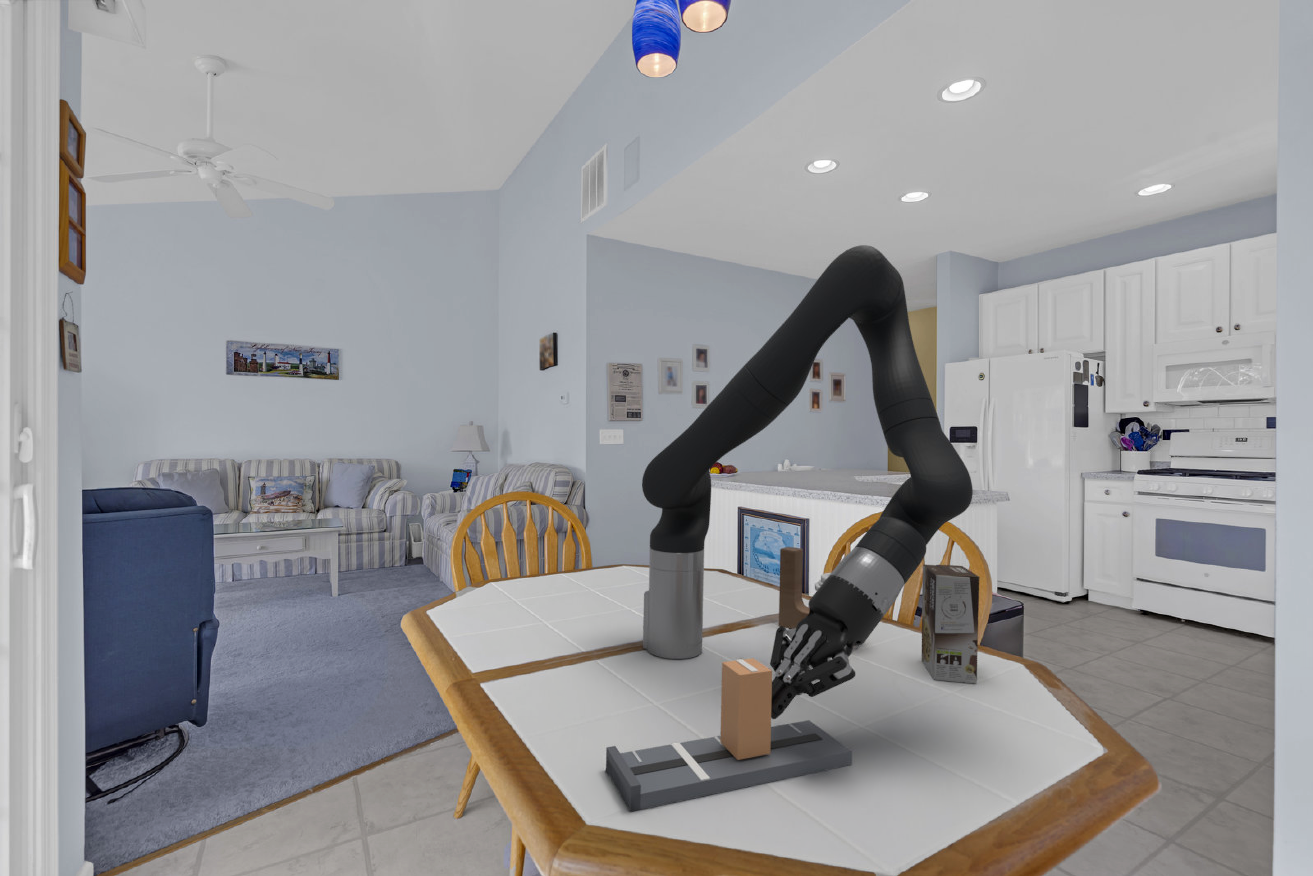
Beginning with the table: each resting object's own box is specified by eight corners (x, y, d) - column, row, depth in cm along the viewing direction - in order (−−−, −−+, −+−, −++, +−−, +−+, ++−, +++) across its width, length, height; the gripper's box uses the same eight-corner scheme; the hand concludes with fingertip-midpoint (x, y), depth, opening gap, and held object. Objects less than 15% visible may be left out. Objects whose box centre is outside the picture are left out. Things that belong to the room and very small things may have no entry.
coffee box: (978, 684, 93) (981, 576, 93) (932, 680, 94) (935, 574, 94) (961, 663, 102) (963, 564, 102) (919, 659, 103) (921, 562, 103)
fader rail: (630, 811, 60) (630, 786, 60) (605, 769, 67) (606, 747, 67) (851, 764, 69) (852, 743, 69) (808, 732, 77) (809, 712, 77)
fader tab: (737, 760, 66) (739, 673, 66) (720, 742, 70) (722, 660, 70) (770, 753, 68) (772, 669, 68) (751, 737, 71) (753, 656, 71)
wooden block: (778, 626, 120) (779, 548, 120) (786, 622, 123) (788, 546, 123) (809, 633, 116) (810, 553, 116) (817, 629, 118) (819, 550, 118)
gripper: (805, 563, 79) (717, 670, 75) (878, 587, 67) (778, 717, 63) (838, 601, 81) (754, 708, 77) (915, 631, 69) (821, 761, 65)
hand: (765, 712), depth 70 cm, fingers closed
